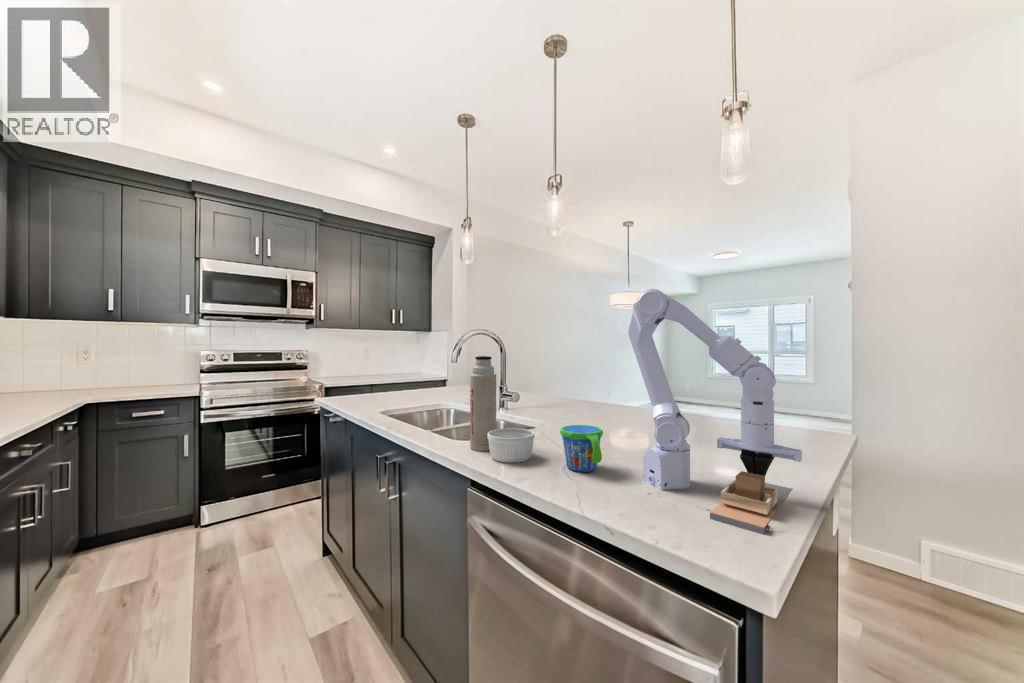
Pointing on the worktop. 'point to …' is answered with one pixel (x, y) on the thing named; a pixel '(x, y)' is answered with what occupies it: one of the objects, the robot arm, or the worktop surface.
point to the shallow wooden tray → (750, 504)
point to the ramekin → (510, 444)
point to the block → (750, 485)
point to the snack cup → (582, 447)
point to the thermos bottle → (482, 403)
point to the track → (749, 513)
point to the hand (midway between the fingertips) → (757, 489)
